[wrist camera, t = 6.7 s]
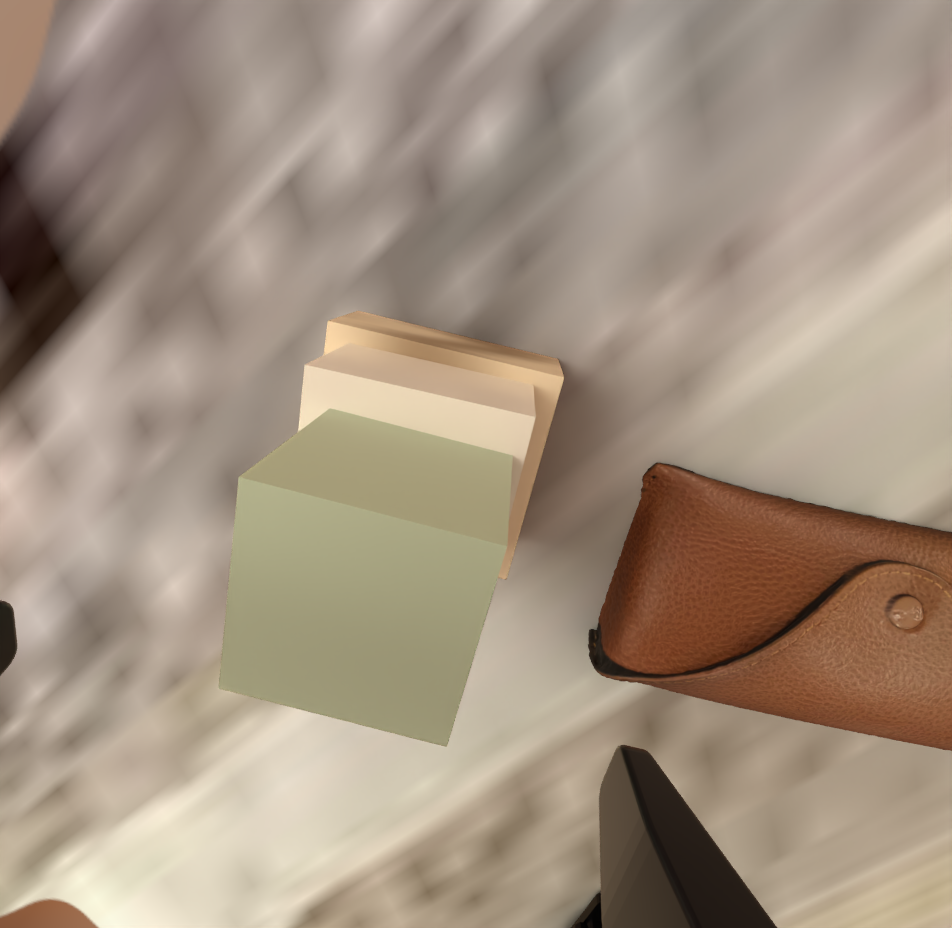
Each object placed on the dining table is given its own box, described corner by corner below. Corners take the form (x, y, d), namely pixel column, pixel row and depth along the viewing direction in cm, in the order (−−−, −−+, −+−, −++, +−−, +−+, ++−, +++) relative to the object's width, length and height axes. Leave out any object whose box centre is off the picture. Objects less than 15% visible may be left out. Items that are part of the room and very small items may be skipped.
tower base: (557, 356, 19) (564, 377, 16) (508, 531, 22) (506, 579, 18) (361, 309, 19) (328, 320, 16) (335, 489, 22) (301, 530, 18)
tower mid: (533, 384, 16) (535, 417, 13) (492, 546, 18) (485, 610, 15) (348, 342, 16) (305, 364, 13) (328, 509, 18) (285, 564, 15)
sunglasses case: (1147, 545, 19) (1293, 755, 15) (984, 623, 25) (1057, 792, 21) (637, 453, 20) (643, 633, 16) (587, 550, 25) (582, 702, 21)
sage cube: (468, 608, 15) (446, 747, 11) (305, 566, 15) (218, 688, 11) (512, 455, 13) (507, 546, 9) (329, 408, 13) (238, 476, 9)
